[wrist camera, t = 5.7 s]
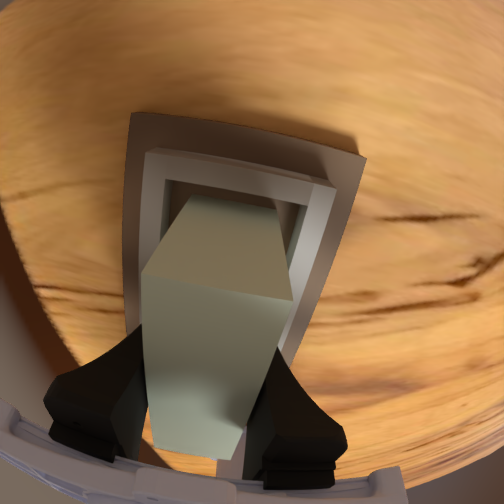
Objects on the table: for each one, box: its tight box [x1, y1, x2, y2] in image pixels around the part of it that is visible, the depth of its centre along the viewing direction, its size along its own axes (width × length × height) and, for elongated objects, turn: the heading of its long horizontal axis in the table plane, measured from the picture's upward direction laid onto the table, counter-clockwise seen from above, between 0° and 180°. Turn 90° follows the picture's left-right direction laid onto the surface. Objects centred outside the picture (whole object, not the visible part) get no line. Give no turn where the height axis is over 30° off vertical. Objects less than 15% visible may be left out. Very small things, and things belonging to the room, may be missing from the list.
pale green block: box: [141, 194, 293, 460], centre depth 13 cm, size 11×4×7 cm, turn 168°
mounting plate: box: [122, 112, 367, 368], centre depth 16 cm, size 18×11×2 cm, turn 168°
